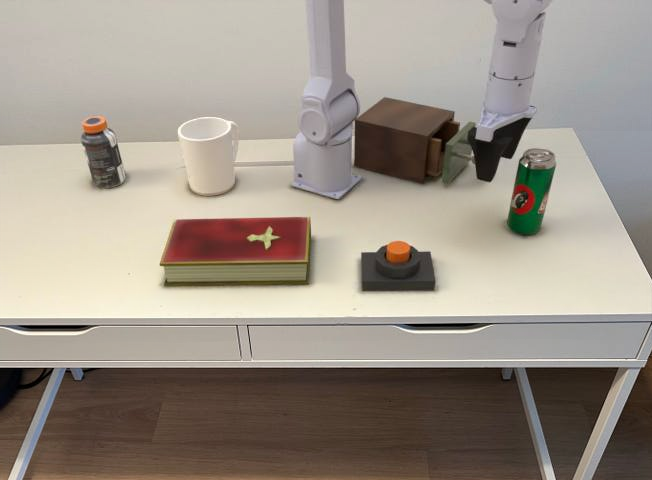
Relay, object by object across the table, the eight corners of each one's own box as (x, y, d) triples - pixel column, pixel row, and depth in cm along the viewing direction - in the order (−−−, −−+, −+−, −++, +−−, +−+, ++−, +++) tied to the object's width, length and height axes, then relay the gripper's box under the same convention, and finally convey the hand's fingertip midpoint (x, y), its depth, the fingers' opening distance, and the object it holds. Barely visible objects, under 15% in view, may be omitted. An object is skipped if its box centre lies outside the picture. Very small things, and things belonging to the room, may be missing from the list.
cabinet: (449, 158, 119) (454, 111, 113) (423, 184, 113) (427, 136, 107) (382, 142, 125) (384, 96, 119) (354, 165, 118) (354, 119, 113)
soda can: (541, 237, 99) (559, 164, 91) (506, 235, 100) (521, 162, 92) (539, 219, 103) (556, 147, 94) (505, 217, 104) (519, 145, 95)
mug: (205, 203, 112) (196, 146, 105) (178, 184, 117) (167, 128, 110) (257, 180, 117) (251, 124, 110) (228, 163, 122) (221, 108, 115)
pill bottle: (133, 177, 120) (118, 116, 112) (110, 191, 117) (93, 130, 109) (109, 170, 123) (93, 110, 115) (86, 184, 119) (68, 123, 111)
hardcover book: (179, 239, 104) (174, 216, 102) (311, 237, 103) (310, 213, 100) (164, 286, 96) (159, 262, 93) (308, 284, 94) (307, 260, 91)
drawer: (493, 165, 114) (500, 127, 109) (471, 189, 109) (477, 151, 104) (406, 144, 121) (409, 108, 117) (381, 166, 116) (383, 129, 111)
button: (386, 264, 91) (387, 253, 90) (385, 251, 94) (386, 240, 92) (410, 264, 91) (411, 253, 90) (408, 250, 93) (409, 240, 92)
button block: (361, 290, 92) (362, 270, 90) (361, 261, 97) (361, 241, 95) (434, 290, 92) (436, 269, 89) (429, 260, 97) (431, 240, 94)
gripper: (521, 97, 80) (502, 197, 89) (561, 57, 88) (539, 153, 97) (466, 87, 83) (453, 185, 92) (509, 49, 91) (494, 143, 100)
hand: (494, 168), depth 95 cm, fingers open, 7 cm apart
